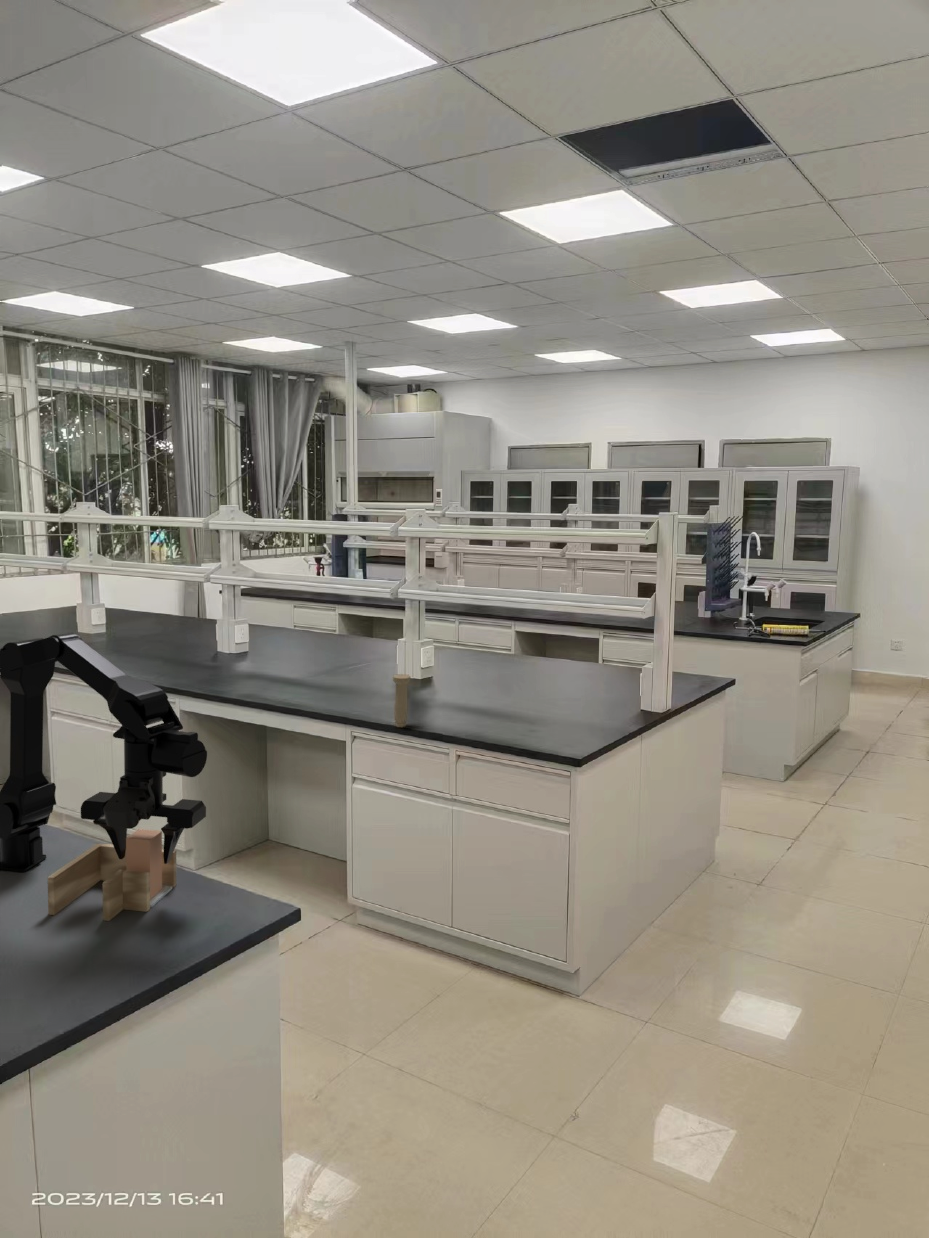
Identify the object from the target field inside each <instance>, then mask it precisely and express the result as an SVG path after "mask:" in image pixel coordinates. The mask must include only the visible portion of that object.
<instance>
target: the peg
mask: <svg viewBox="0 0 929 1238" xmlns="http://www.w3.org/2000/svg"><path fill="white" fill-rule="evenodd" d="M162 849H163V832H162V830H152V829H140V828H138V829H136V830H135V831H134V832H133V833H131V834H129V835H128V836H127V838H126V870H129V871H139V872H149V873H150V900H151V899H152V898H153V897H154V896H156V895H157V894H158V893H159V892H160V891H161V890H162Z"/></svg>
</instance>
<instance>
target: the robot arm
mask: <svg viewBox="0 0 929 1238" xmlns="http://www.w3.org/2000/svg"><path fill="white" fill-rule="evenodd" d="M56 662H58V663H59V664H60V665H62V666H63V667H64V668H66V669H67V670H68V671H69V672H71V674H72V675H75V676H76V677H77V678H78V679H79V680H81V681H82V682H83V683H84V684H86V685H87V686H89V688H91V689H93V690H94V692H96V693H97V694H99V695H100V696H101V697H102V698H103V699H104V700H105V701H106V703H107V707H108V710H109V713H111V715H112V717H114V719H116V721H117V722H119V723H120V725H121V726H120V728H119V729H117V730H116V731H115V732H113V734H112V737H113V738H115V739H119V740H123V746H124V747H123V754H124V757H123V759H124V760H123V761H124V762H123V765H124V766H123V767H124V769H123V770H124V773H123V774H124V775H122V776H120V778H119V782H118V784H119V785H118V789H117V791H116V792H109V791H108V792H107V791H99V792H97V793H95V794H93V795H91V796H90V797H88V798H87V799H86V800H84V801H83V802H82V803H81V806H80V818H81V820H88V821H89V820H90V821H92V823H93V825H98V826H100V827H101V828H102V829H104V830H105V832H106V833H107V835H108V836H109V838H110V840H111V843H112V845H113V846H114V848H115V851H116V853H117V855H118V858H119V859H123V858H124V857H125V852H126V838H127V837H128V836H127V835H128V834H127V833H128V829H129V830H131V829H135V827H137V826H138V825H139V823H140V821H141V820H150V818H151V817H159V818H166V824H165V825H163V826H162V827H161V828H160V831H162V834H163V849H164V853H163V857H164V864H167V863H168V862H169V861H170V859H171V856H172V854H173V852H174V850H176V847H177V844H178V841H179V840H180V837H181V835H182V834H183V831H184V830H185V829H186V830H188V829H192V828H194V827H195V826H196V825H197V824H199V823H200V822H202V820H204V819H206V818H207V807H206V805H205V803H204V802H203V800H197V799H188V798H187V799H185V798H182V799H180V800H178V801H177V802H175V803H174V804H173V805H172V804H170V805H169V804H163V803H164V802H165V801H167V793H163V791H164V790H163V789H164V788H163V787H164V786H163V785H164V784H163V778H164V777H165V776H167V774H173V775H176V776H184V777H187V778H188V777H189V778H195V777H197V776H198V775H200V773H201V772H202V771H203V770H204V769H205V766H206V764H207V758H208V750H207V749H206V747H205V746H206V745H205V744H204V742H203V741H201V740H199V734H198V732H196V731H182V730H183V729H184V726H183V723H182V722H181V721H180V717H178V715H177V714H176V712H175V710H174V707H172V705H171V703H170V700H169V695H167V692H165V691H164V690H163V689H162V688H161V687H158V686H156V685H155V684H154V683H153V684H152V683H151V682H149V681H145V680H143V679H139V678H135V677H131V676H130V675H127V674H125V673H124V672H123V671H122V670H121V669H119V668H118V667H117V666H115V665H114V664H113V663H112V662H110V660H108V659H107V658H106V657H104V656H103V655H101V654H100V653H99V652H97V651H96V650H95V649H94V648H92V647H91V646H89V645H88V644H87V643H86V642H85V641H83V639H82V637H81V636H80V635H79V634H77V633H74V632H64V633H58V634H57V633H56V634H52V635H50V636H48V637H45V638H43V637H38V638H37V637H36V638H31V639H24V640H19V641H9V642H7V643H5V644H4V645H3V646H2V647H1V648H0V679H1V681H2V683H4V685H5V686H6V688H7V689H8V691H9V692H10V693H9V695H10V708H9V709H10V713H9V714H10V717H9V718H10V724H9V725H10V727H9V728H10V729H9V735H10V736H9V742H10V743H9V775H8V777H7V779H6V781H5V782H4V784H3V786H2V787H1V789H0V870H1V871H2V870H3V871H12V872H22V873H23V872H27V871H28V870H30V869H31V868H33V867H34V866H36V865H37V864H39V863H40V862H42V861H44V860H45V859H46V858H47V855H46V854H44V849H43V847H44V846H43V836H41V826H45V825H48V823H49V819H50V817H51V814H52V813H53V810H54V807H55V806H56V805H57V800H56V789H57V788H56V787H57V786H56V783H54V782H49V780H48V779H47V777H46V776H45V774H44V773H43V757H44V756H43V752H44V751H43V750H44V748H43V746H44V733H43V732H44V693H45V690H46V688H47V687H48V685H49V683H51V682H50V681H51V680H52V679H53V677H54V672H55V666H56ZM159 722H162V723H159ZM155 723H159V724H156V725H153V724H155ZM149 725H151V726H150V727H147V726H149Z"/></svg>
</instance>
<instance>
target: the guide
mask: <svg viewBox="0 0 929 1238" xmlns="http://www.w3.org/2000/svg"><path fill="white" fill-rule="evenodd" d="M163 853H164V848H162V890H161V891H160V892H159V893H158V894H157V895H156V896H154V897H153V898H152V899H151V900H150V873H149V872H139V871H129V870H126V852H125V857H124V858H123V859H119V858H118V855H117V853H116V851H115V848H114V846H113V844H111V843H109V844H108V843H100V842H98V843H96V844H94V845H93V846H91V847H90V848H89V849H87V850H85V851H84V852H83V853H82V854H79V856H77V857H75V858H74V859H72V860H70V862H68V863H67V864H65V865H64V866H62V867H61V868H59V869H58V870H56V871H55V872H53V873H52V874H50V875H49V876H48V877H47V902H48V903H47V908H48V912H47V913H48V915H49V916H51V915H52V916H55V915H57V914H58V913H59V912H60V911H62V910H63V909H65V908H66V907H67V906H68V905H70V904H71V903H72V902H74V901H75V900H77V898H79V897H81V896H82V895H83V894H84V893H85V892H87V891H88V890H90V889H91V888H93V886H95V885H96V884H98V883H99V882H101V881H103V882H102V921H107V922H110V921H111V920H112V919H114V918H115V917H116V916H117V915H119V913H120V912H122V911H124V910H127V911H136V912H137V911H138V912H144V913H145V912H148V911H150V910H151V908H153V907H154V906H155V905H156V904H157V903H158V902H160V901H161V900H162V899H163V898H164V897H165V896H166V895H167V894H168V893H170V891H172V889H173V888H175V887H176V886H177V850H176V849H174V852H173V854H172V856H171V859H170V861H169V862H168V863H167V864H164V857H163Z"/></svg>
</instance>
